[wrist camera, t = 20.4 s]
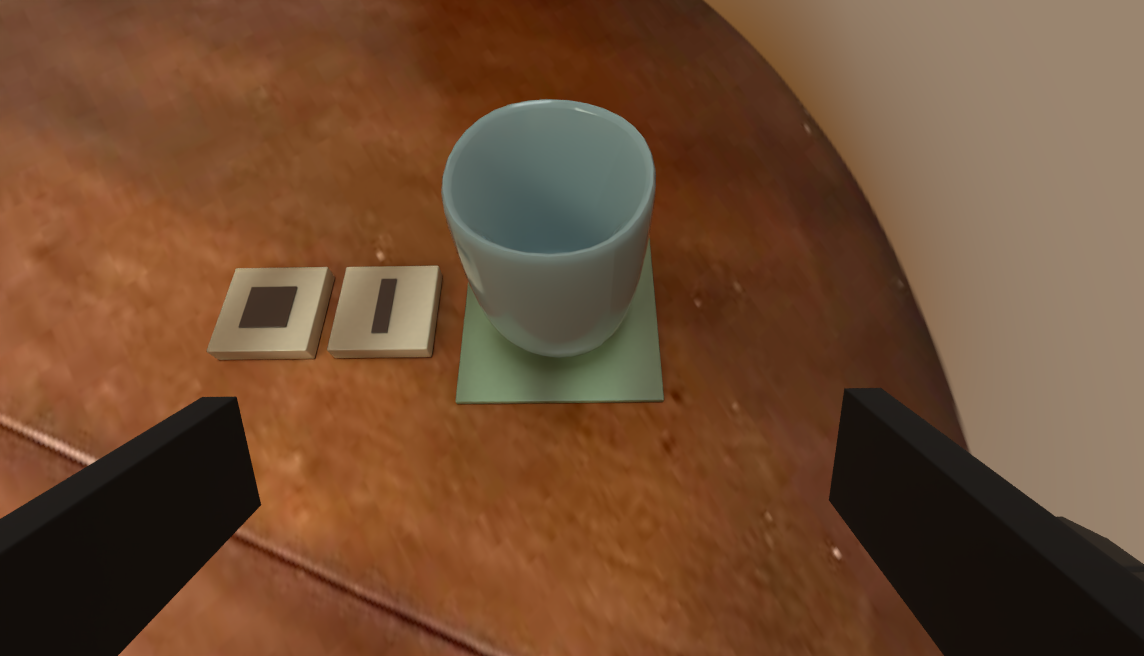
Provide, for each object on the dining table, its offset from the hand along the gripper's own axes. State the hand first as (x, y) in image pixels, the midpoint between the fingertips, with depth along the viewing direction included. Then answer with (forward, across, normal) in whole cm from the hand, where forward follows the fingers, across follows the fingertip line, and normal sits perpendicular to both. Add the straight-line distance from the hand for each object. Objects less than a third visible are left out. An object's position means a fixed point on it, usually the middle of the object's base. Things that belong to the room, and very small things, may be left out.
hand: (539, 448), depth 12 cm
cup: (+16, 0, -1) cm, 16 cm away
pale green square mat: (+16, -6, -1) cm, 18 cm away
